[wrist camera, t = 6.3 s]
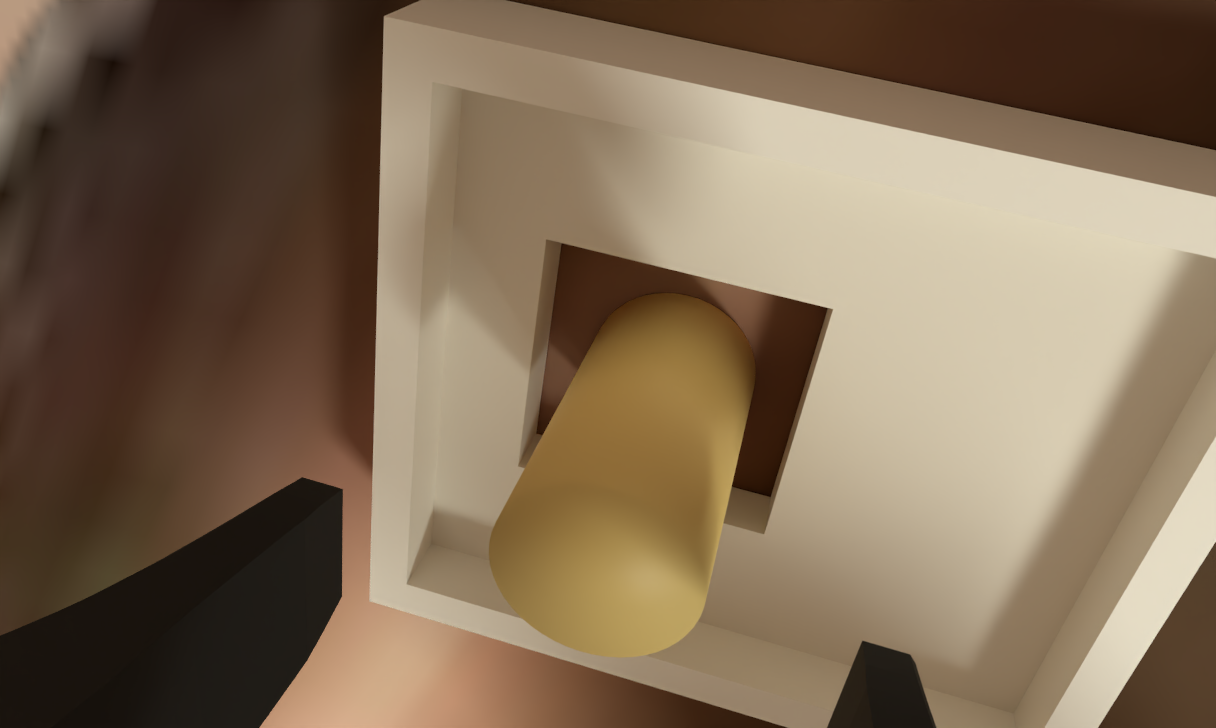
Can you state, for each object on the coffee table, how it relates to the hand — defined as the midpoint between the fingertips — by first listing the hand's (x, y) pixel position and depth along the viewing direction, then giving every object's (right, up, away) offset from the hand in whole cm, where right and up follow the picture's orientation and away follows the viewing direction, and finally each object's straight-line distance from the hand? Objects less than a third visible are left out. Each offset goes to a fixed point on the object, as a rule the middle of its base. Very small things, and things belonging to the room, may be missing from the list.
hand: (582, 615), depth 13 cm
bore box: (+4, +3, +5) cm, 7 cm away
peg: (+2, +3, +6) cm, 7 cm away
